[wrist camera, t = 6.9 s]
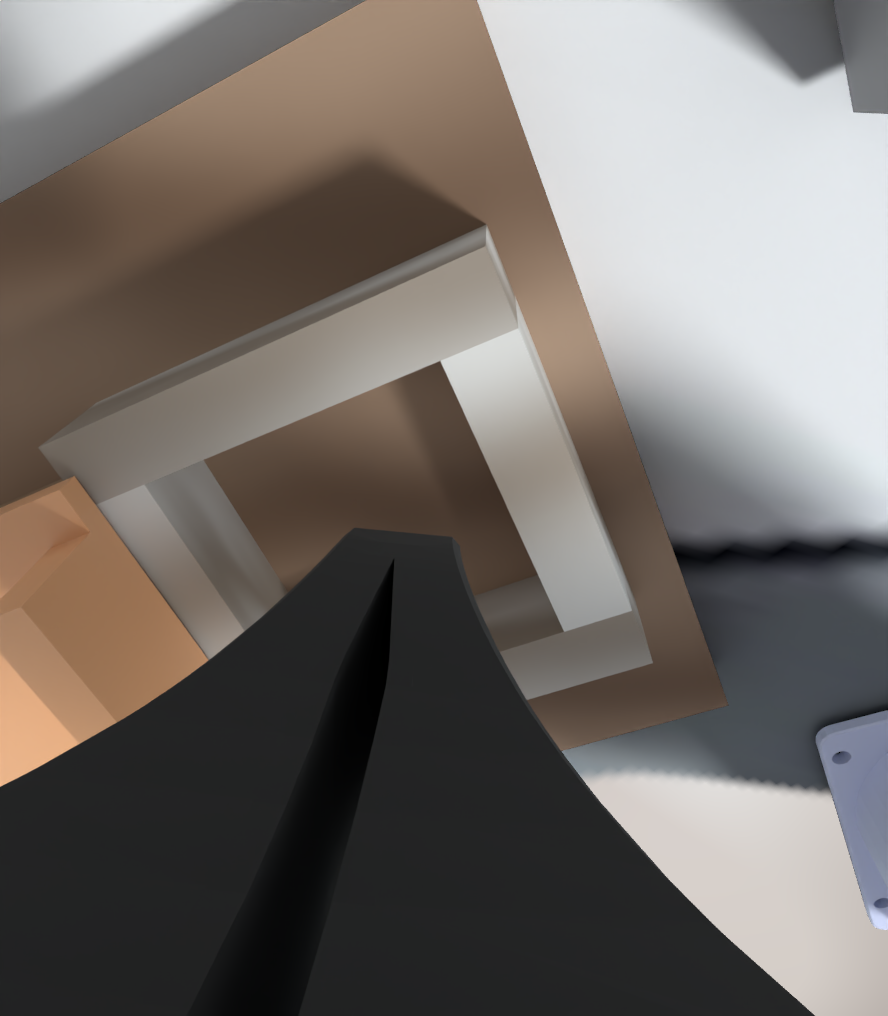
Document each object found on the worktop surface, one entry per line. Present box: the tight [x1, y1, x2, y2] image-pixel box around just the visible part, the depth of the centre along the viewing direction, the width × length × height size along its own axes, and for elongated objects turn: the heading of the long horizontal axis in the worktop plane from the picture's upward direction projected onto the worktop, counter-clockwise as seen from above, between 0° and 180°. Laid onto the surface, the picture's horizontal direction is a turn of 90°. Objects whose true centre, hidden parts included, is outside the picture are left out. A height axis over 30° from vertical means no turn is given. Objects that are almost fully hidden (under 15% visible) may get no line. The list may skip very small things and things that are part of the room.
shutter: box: [0, 476, 208, 787], centre depth 16 cm, size 8×8×3 cm
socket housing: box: [0, 0, 728, 751], centre depth 18 cm, size 18×19×4 cm
